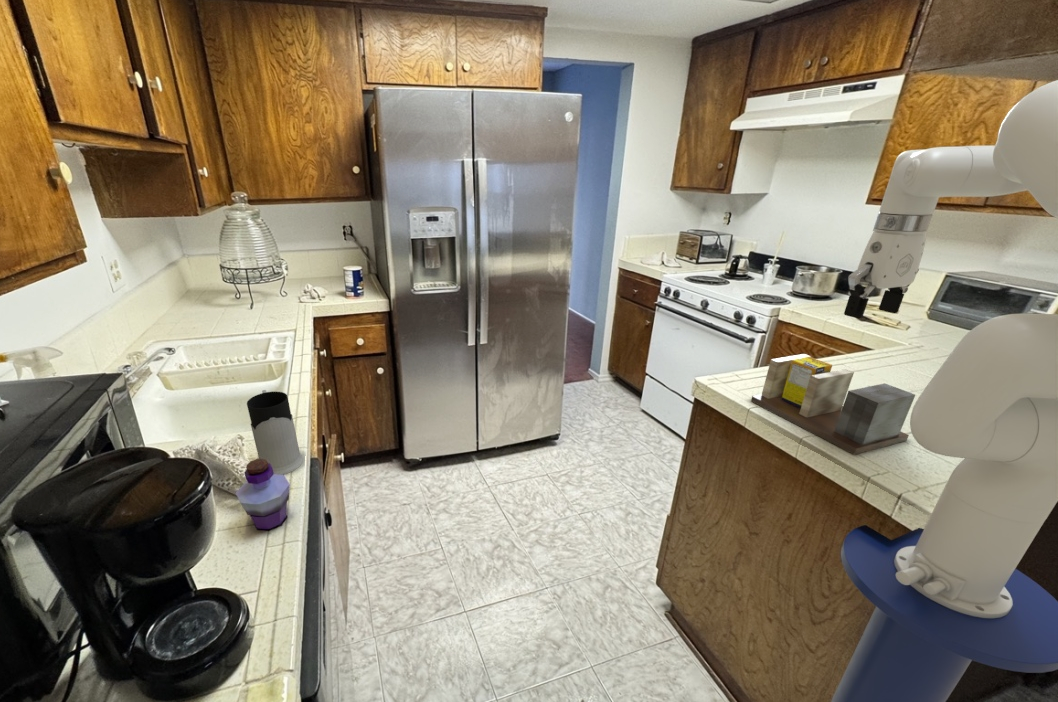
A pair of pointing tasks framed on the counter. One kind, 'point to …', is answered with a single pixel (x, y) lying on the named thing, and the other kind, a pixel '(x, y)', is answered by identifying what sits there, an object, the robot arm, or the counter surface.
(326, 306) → the counter surface
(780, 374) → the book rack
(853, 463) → the counter surface
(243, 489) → the potion bottle
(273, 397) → the glass holder
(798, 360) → the supplement box
